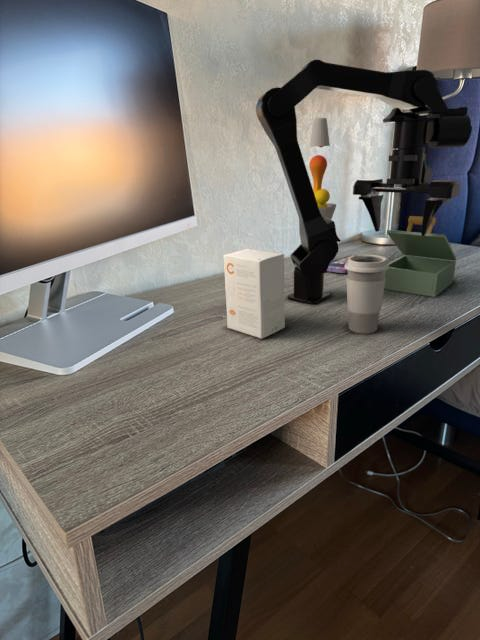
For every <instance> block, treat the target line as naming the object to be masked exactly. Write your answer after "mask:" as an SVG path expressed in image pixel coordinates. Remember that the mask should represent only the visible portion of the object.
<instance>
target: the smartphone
mask: <svg viewBox="0 0 480 640" xmlns="http://www.w3.org/2000/svg"><path fill="white" fill-rule="evenodd" d="M350 256H351V255H347V256H344V257H341V258H339V259H336V260H333V262H331V263H330V264H329V266H328V269H327V271H326V272H330V273H337V274H348V270H347V269H345V264H346V263H347V262H348V258H349V257H350Z"/></svg>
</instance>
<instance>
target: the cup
mask: <svg viewBox="0 0 480 640" xmlns="http://www.w3.org/2000/svg"><path fill="white" fill-rule="evenodd" d="M349 256H350V257H349V258H348V262H347V263H346V264H345V269H347V270H348V273H347V276H346V296H347V297H346V302H347V303H346V309H347V313H348V314H347V315H348V330H349V331H351V332H353V333H356V334H361V335H362V334H363V335H365V334H367V335H368V334H373V333H375V332H377V330H378V326H379V325H378V324H379V318H380V312H381V311H382V305H383V304H382V303H383V299H384V291H385V289H384V285H385V279H386V277H385V272H386V270H388V269H389V264H388V263H389V262H388V260H387V257H386V256H384V255H383V256H382V255H379V254H365V253H363V254H356V255H355V254H354V255H349Z"/></svg>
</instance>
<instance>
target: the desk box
mask: <svg viewBox="0 0 480 640" xmlns="http://www.w3.org/2000/svg"><path fill="white" fill-rule="evenodd" d="M387 263H388V264H389V269H388V270H386V272H385V277H386V279H385V285H384V290H389V291H395V292H402V293H407V294H414V295H419V296H426V297H432V298H436V297H437V296H438V295H439V294H441V293H442V292H443V291H444V290H445V289H447V288H448V287H449V286H450V285H452V284H453V283H454V278H455V272H456V271H455V270H456V265H457V264H456V263H457V260H456V261H454V260H445V259H436V258H427V257H418V256H409V255H403V254H402V255H401V256H399V257H397V258H396V259H394V260H391V261H390V262H387Z"/></svg>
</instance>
